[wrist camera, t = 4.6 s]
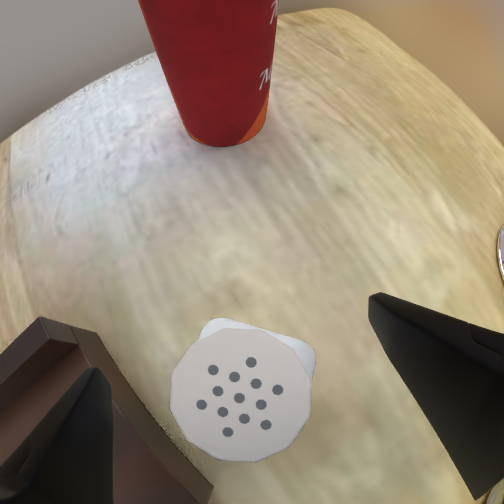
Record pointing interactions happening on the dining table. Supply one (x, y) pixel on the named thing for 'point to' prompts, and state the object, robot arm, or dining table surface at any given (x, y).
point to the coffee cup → (216, 63)
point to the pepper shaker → (242, 391)
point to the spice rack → (124, 413)
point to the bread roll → (496, 494)
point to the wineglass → (501, 251)
